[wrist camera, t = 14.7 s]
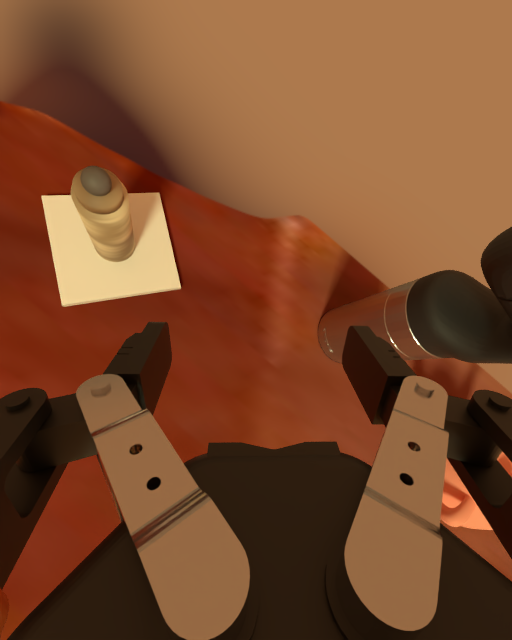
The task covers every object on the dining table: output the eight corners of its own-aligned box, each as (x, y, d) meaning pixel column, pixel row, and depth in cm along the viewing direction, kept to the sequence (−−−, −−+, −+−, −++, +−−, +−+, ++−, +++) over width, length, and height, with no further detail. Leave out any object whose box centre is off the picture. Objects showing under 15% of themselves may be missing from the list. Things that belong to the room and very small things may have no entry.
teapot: (396, 397, 49) (480, 405, 36) (464, 420, 54) (560, 435, 41) (383, 499, 45) (473, 549, 32) (459, 515, 49) (563, 563, 37)
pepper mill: (130, 225, 38) (119, 147, 25) (138, 259, 37) (130, 197, 24) (90, 228, 36) (54, 145, 23) (98, 264, 36) (66, 200, 23)
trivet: (159, 195, 41) (159, 192, 40) (180, 288, 39) (181, 287, 39) (43, 199, 36) (41, 195, 35) (63, 306, 34) (62, 305, 34)
